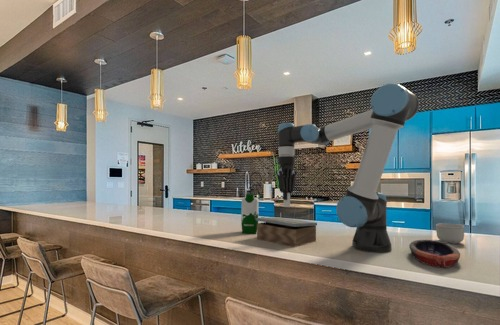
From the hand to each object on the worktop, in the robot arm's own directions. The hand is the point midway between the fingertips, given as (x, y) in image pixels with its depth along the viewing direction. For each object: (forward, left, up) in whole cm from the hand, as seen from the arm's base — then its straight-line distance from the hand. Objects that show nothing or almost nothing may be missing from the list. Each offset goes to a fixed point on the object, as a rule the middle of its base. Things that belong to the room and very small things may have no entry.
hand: (286, 206), depth 139 cm
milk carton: (+24, 0, -16) cm, 29 cm away
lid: (0, 0, -7) cm, 7 cm away
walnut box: (0, 0, -15) cm, 15 cm away
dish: (-56, -15, -16) cm, 60 cm away
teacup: (-53, -53, -16) cm, 76 cm away
